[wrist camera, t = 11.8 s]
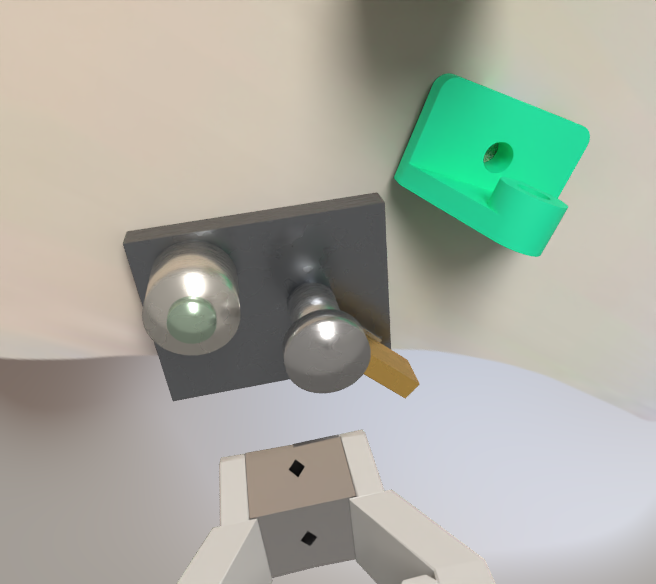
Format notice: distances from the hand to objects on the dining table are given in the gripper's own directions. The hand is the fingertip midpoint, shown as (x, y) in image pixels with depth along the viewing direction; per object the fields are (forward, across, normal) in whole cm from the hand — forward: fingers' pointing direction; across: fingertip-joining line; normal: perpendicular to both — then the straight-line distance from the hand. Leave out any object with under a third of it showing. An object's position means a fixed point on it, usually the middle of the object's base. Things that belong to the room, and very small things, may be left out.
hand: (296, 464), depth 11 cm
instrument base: (+29, 0, +13) cm, 32 cm away
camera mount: (+30, -17, +4) cm, 34 cm away
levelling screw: (+27, -5, +15) cm, 31 cm away
